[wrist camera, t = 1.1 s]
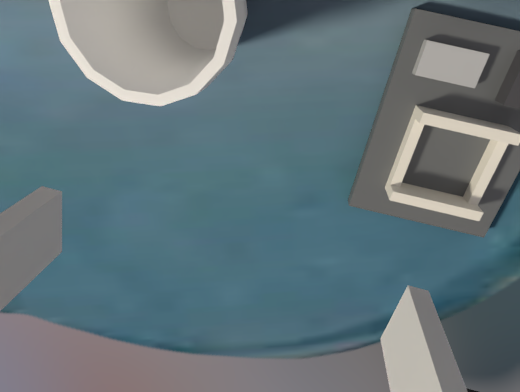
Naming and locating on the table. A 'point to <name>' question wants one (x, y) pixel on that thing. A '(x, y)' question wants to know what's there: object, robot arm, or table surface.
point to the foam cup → (150, 44)
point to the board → (445, 126)
